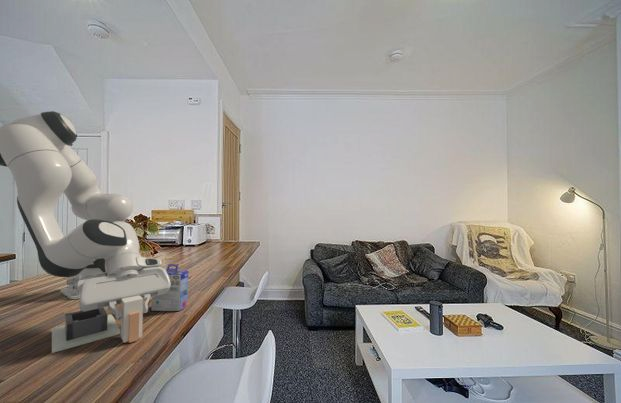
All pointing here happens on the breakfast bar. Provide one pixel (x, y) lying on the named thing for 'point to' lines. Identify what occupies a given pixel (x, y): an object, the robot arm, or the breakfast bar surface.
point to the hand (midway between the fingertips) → (132, 315)
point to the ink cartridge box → (173, 292)
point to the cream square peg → (131, 318)
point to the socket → (83, 329)
